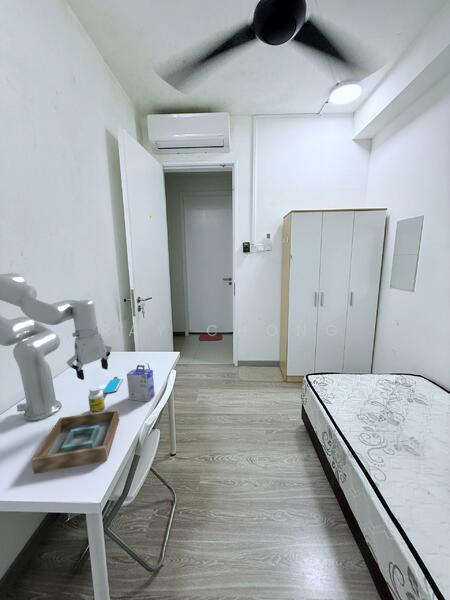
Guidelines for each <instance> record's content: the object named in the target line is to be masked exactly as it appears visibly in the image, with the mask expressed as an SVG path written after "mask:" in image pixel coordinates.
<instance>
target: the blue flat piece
mask: <svg viewBox="0 0 450 600" xmlns="http://www.w3.org/2000/svg"><path fill="white" fill-rule="evenodd" d="M123 381H124V379H123V378H118V376H114V377H113V379H110V380H109V381H108V383H107V384H102V385H99V386H100V389H101V390H103V391H102V392H103V397H104V399H105V398H106V397H107V396H108V394H111V393H115V391H116V392H118V390H119V388H120V386H121V384H122V383H123Z"/></svg>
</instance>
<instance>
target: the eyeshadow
mask: <svg viewBox="0 0 450 600" xmlns="http://www.w3.org/2000/svg"><path fill="white" fill-rule="evenodd" d="M145 364H146V365H147V368H144V370H151V367H150V364H149V362H148V361H147V362H146V363H145Z"/></svg>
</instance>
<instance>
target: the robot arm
mask: <svg viewBox="0 0 450 600" xmlns="http://www.w3.org/2000/svg"><path fill="white" fill-rule="evenodd" d="M37 296H38V291H37V289H36V288H35V287H33V286H30V285H28V284H27V281H26V280H25V278H24V277H23V276H22V275H20V274H18V273H13V272H11V273H10V272H9V273H0V300H2V301H1V302H4V303H9V305H10V304H11V305H13V306H16V307H19V308H20V310H21V311H22V313H23V314H24V315H25V316H19V317H15V318H11V319H10V318H6V317H4V316H2V315H1V314H0V346H3V347H9V346H13V345H15V346H14V348H13V351H12V354H13V358H14V360H15V362H16V364H17V366H18V369H19V373H20V377H21V382H22V387H23V392H24V397H25V398H24V399H25V402H26V403H18V404H17V406H16V409H17V410H16V412H24V413H23V418H24V420H26V421H31V422H32V421H40V420H43V419H47V418H48V417H50V416H53V415H54V414H56V413H58V411H59V410H60V409H61V407H62V403H61V401H60V400H57V399H56V393H55V387H54V381H53V375H52V369H51V366H50V364H49V363H48V362H47V361H46V359H45V357H46V356H47V355H49V354H52V353H53V352H55V351H56V350H57V349H58V348H59V347H60V345H61V339H60V337H59V335H58V333H57V332H55V331H54V330H52V329H51V328H49V327H48V326H46V325H49V326H55V325H56V326H57V325H59V324H62V323H65V322H66V321H70V320H73V324H74V332H73V333H72V337H74V355H72V356H71V358H69V359H68V360H67V361H66V364H67V365H68V367H70V368H71V369H73V370H75V373H76V377H77V379H78V380H81V381H84V380H85V375H84V370H83V369H82V368H83V367H84V365H88V364H90V363H91V364H92V363H94V362H96V361H98V360H100V363H101V368H102V369H103V370H108V369H109V368H108V366H109V364H108V359H109V356H110V355H111V351H112V347H113V346H109V345H105V342H104V338H103V336H102V333H101V332H99V328H98V321H97V313H96V309H95V304H94V301H93V300H91V299H81V300H76V299H75V300H73V299H65V300H61V301H58V302H55V303H54V302H53V303H51V304H50V303H48V302H47V303H46V302H44V301H41V300H39V299H37ZM74 362H76V364H74Z"/></svg>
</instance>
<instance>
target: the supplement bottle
mask: <svg viewBox="0 0 450 600" xmlns="http://www.w3.org/2000/svg"><path fill="white" fill-rule="evenodd" d="M100 386H101V385H94V386H91V387H90V388H89V389H88V390H89V394H88V396H87V397H88V404H89V405H88V406H89V413H96V412H103V411H104V410H105V408H106V406H105V398H104V397H103V395H104V393H103V391H102V389H100Z"/></svg>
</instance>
